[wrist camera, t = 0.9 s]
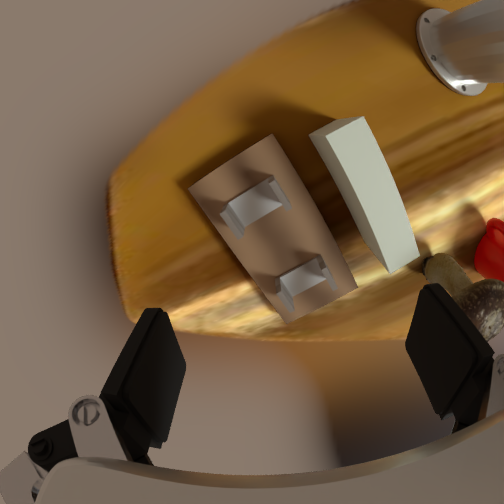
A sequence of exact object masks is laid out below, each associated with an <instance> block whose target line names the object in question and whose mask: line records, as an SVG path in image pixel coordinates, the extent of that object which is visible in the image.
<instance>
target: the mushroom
mask: <svg viewBox="0 0 504 504" xmlns="http://www.w3.org/2000/svg"><path fill="white" fill-rule="evenodd" d="M422 272H423V275H424V276H425V277H426V280H428V281H429V282H430V283H431V284H433V283H439V284H440V285H441V286H442V287H443V288H444V289H446V290H447V291H448V292H449V293H450V294H451V296H452V298H453V300H454V301H455V302H456V303H457V304H458V305H459V307H460V308H461V309H462V310H463V311H464V313H465V314H466V315H467V316H468V318H469V319H470V320H471V321H472V323H473V324H474V325H475V327H476V328H477V329H478V330H479V332H480V333H481V334H482V336H483V337H484V338H485V340H486V341H487V342H488V341H489V340H491V339H492V338H494V337H495V336H496V335H497V334H498V333H499V332H500V331H501V329H502V328H503V326H504V282H503V281H501V280H498V279H484V280H481V281H479V282H476V283H474V284H473V283H472V281H471V280H470V279H469V278H468V276H467V275H466V273H465V272H464V270H463V268H462V267H460V265H459V264H457V262H456V261H455V260H454V259H453V258H452V256H450V255H448V254H445V253H437V254H435V255H434V256H432V257H428V258H426V259H424V261H423V263H422Z"/></svg>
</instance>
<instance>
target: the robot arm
mask: <svg viewBox="0 0 504 504" xmlns="http://www.w3.org/2000/svg"><path fill="white" fill-rule="evenodd" d="M416 33H417V39H418V43H419V46H420V49H421V51H422V54H423V56H424V58H425V60H426V62H427V63H428V65H429V66H430V68H431V69H432V71H433V72H434V73H435V75H436V76H437V77H438V78H439V79H440V80H441V81H442V82H443V83H444V84H445V85H446V86H447V87H449V88H450V89H451V90H453V91H455V92H456V93H458V94H462V95H466V96H473V95H478V94H480V93H481V92H482V91H483V90H484V89H485V88H486V86H487V83H504V0H481V1H479V2H476V3H473V4H471V5H468V6H466V7H463V8H461V9H458V10H456V11H454V12H452V13H451V12H449V11H446V10H443V9H439V8H432V9H429V10H427V11H425V12H424V13H422V14H421V15H420V17H419V18H418V21H417V26H416ZM405 346H406V350H407V353H408V354H409V356H410V358H411V361H412V363H413V365H414V367H415V369H416V371H417V373H418V375H419V377H420V379H421V381H422V384H423V386H424V388H425V390H426V393H427V395H428V397H429V399H430V402H431V404H432V406H433V409H434V411H435V413H436V414H439V415H440V418H441V420H444V419H446V418H449V417H451V416H453V414H454V416H455V423H454V426H453V429H452V432H451V435H449V436H446V437H444V438H441V439H439V440H436V441H434V442H432V443H429V444H426V445H423V446H421V447H418V448H415V449H412V450H409V451H406V452H403V453H400V454H396V455H393V456H389V457H386V458H382V459H378V460H374V461H370V462H366V463H362V464H357V465H352V466H348V467H342V468H336V469H330V470H323V471H315V472H306V473H295V474H281V475H223V474H209V473H199V472H191V471H182V470H175V469H168V468H162V467H157V466H154V465H153V463H152V461H151V460H150V458H149V456H148V454H147V453H148V449H149V447H154V448H159V449H160V448H161V446H162V443H163V442H166V441H167V438H168V434H169V430H170V427H171V423H172V419H173V415H174V411H175V408H176V404H177V400H178V396H179V393H180V389H181V386H182V382H183V378H184V375H185V371H186V362H185V359H184V357H183V354H182V352H181V349H180V346H179V344H178V341H177V339H176V336H175V333H174V330H173V328H172V325H171V322H170V319H169V316H168V314H167V312H163V310H162V309H161V308H146V309H145V310H144V312H143V313H142V315H141V317H140V319H139V320H138V322H137V324H136V326H135V328H134V330H133V331H132V333H131V335H130V337H129V338H128V341H127V342H126V344H125V346H124V348H123V350H122V352H121V353H120V356H119V357H118V359H117V361H116V363H115V365H114V367H113V369H112V371H111V373H110V375H109V377H108V379H107V381H106V383H105V385H104V387H103V389H102V391H101V394H100V396H99V397H97V396H94V395H86V396H82V397H80V398H78V399H77V400H76V401H75V402H74V403H72V405H71V407H70V409H69V412H68V420H65V421H64V422H61V423H59V424H57V425H55V426H53V427H50V428H48V429H46V430H44V431H41V432H39V433H37V434H36V435H34V436H33V437H32V438H31V440H30V442H29V445H28V453H27V452H25V451H24V452H23V453H22V454H20V455H19V456H18V457H17V458H16V459H14V460H13V461H12V462H11V463H10V464H8V466H6V467H5V468H4V469H3V470H1V472H0V493H1V495H2V497H3V499H4V501H5V503H6V504H504V354H501V355H499V356H497V357H496V358H495V360H494V359H493V358H492V356H493V354H494V353H495V352H494V351H493V349H492V348H491V347H490V345H489V344H488V342H487V341H486V340H485V338H484V337H483V336H482V334H481V333H480V332H479V330H478V329H477V328H476V327H475V325H474V324H473V323H472V321H471V320H470V319H469V318H468V316H467V315H466V314H465V313H464V311H463V310H462V309H461V308H460V307H459V305H458V304H457V303H456V302H455V301H454V300H453V298H452V297H451V296H450V295H449V294H448V293H447V292H446V290H445V289H444V288H443V287H442V286H441V285H440V284H439V283H433V284H427V285H424V287H423V289H421V290H420V292H419V296H418V300H417V304H416V308H415V312H414V315H413V319H412V322H411V326H410V329H409V332H408V336H407V339H406V342H405Z"/></svg>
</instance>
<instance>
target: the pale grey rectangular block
mask: <svg viewBox="0 0 504 504" xmlns="http://www.w3.org/2000/svg"><path fill="white" fill-rule="evenodd" d="M308 136H309V137H310V139H311V141H312V142H313V144H314V146H315V147H316V149H317V151H318V153H319V154H320V156H321V158H322V160H323V161H324V163H325V165H326V167H327V169H328V170H329V172H330V174H331V176H332V178H333V180H334V181H335V183H336V185H337V187H338V189H339V191H340V193H341V195H342V197H343V199H344V201H345V203H346V205H347V207H348V209H349V211H350V213H351V215H352V217H353V219H354V221H355V223H356V225H357V227H358V230H359V232H360V234H361V236H362V238H363V241H364V242H365V243H366V245H367V246H368V247H369V248H370V250H371V251H372V252H373V253H374V254H375V256H376V257H377V258H378V259H379V261H380V262H381V263H382V264H383V266H384V267H385V268H386V270H387V271H388V272H389V273H390V274H391V273H393V272H395V271H396V270H398V269H400V268H401V267H403V266H405V265H406V264H408V263H410V262H411V261H413V260H414V259H416V258H418V257H419V256H420V254H419V251H418V247H417V244H416V241H415V238H414V234H413V231H412V228H411V225H410V222H409V219H408V216H407V213H406V211H405V208H404V205H403V202H402V200H401V197H400V194H399V192H398V189H397V187H396V184H395V182H394V180H393V177H392V175H391V172H390V170H389V168H388V166H387V163H386V161H385V159H384V157H383V154H382V152H381V150H380V148H379V146H378V144H377V142H376V140H375V138H374V136H373V134H372V132H371V130H370V128H369V126H368V124H367V122H366V120H365V119H364V117H363V116H361V117H352V118H344V119H337V120H335V121H333V122H331V123H329V124H327V125H325V126H323V127H322V128H320V129H318V130H316V131H314V132H312V133H311V134H309V135H308Z"/></svg>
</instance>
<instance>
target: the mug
mask: <svg viewBox="0 0 504 504" xmlns="http://www.w3.org/2000/svg"><path fill="white" fill-rule="evenodd" d="M494 228H496V229H494ZM486 232H487V233H486V234H485V235H484V236H483V237H482V239H481V240H480V242H479V244H478V247H477V249H476V253H475V258H474V264H475V268H476V270H477V272H478V273H480V274H481V275H482V276H483V277H484V278H485V279H498V280H501V281H503V282H504V222H503V221H502V220H500V219H497V218H492V219H490V220H489V221H488V222H487V225H486Z"/></svg>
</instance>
